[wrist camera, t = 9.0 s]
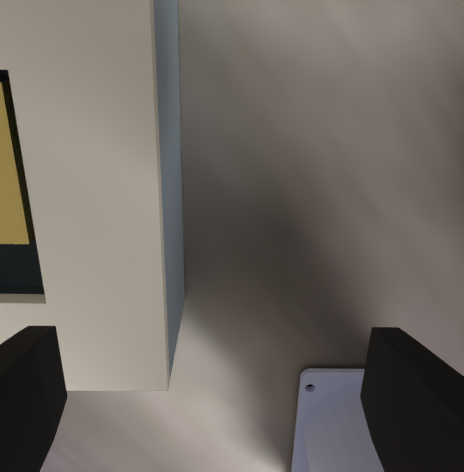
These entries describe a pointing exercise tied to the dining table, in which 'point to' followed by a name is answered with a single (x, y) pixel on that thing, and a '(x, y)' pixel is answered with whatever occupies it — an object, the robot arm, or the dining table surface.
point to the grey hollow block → (98, 186)
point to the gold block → (12, 176)
